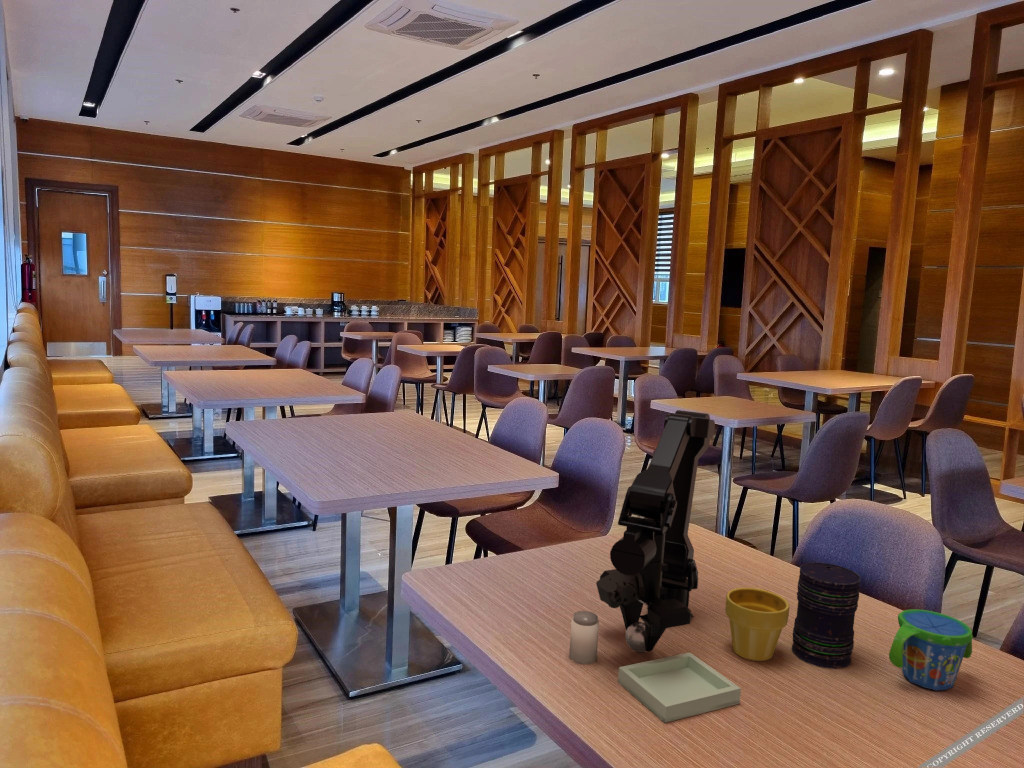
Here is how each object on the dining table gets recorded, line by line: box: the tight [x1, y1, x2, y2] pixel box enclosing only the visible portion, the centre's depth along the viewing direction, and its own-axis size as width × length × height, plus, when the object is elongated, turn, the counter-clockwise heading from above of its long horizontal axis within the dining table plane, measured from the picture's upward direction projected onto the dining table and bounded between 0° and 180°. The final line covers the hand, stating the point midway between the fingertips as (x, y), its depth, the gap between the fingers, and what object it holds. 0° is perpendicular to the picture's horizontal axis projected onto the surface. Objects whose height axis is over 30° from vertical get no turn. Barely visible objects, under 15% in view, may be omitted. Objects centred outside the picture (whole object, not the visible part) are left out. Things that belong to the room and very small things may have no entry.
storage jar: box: [791, 562, 861, 670], centre depth 131 cm, size 10×10×15 cm
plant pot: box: [725, 587, 790, 662], centre depth 131 cm, size 10×10×10 cm
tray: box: [617, 651, 742, 724], centre depth 117 cm, size 14×12×2 cm
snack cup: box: [888, 608, 974, 691], centre depth 124 cm, size 16×10×10 cm
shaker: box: [568, 610, 600, 665], centre depth 126 cm, size 5×5×7 cm
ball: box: [624, 621, 647, 653], centre depth 129 cm, size 5×5×5 cm
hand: (639, 643), depth 129 cm, fingers closed on ball, 5 cm apart
